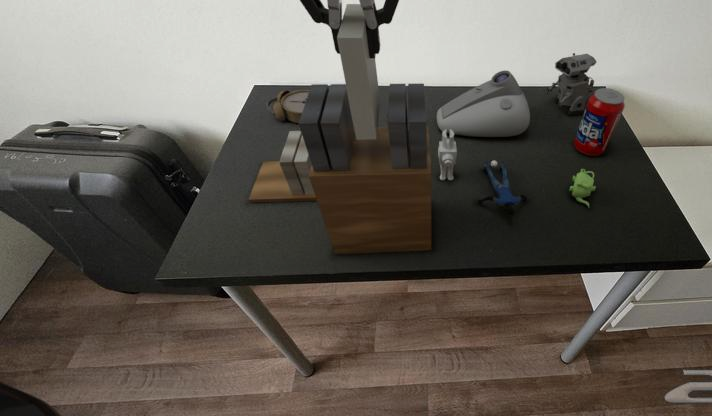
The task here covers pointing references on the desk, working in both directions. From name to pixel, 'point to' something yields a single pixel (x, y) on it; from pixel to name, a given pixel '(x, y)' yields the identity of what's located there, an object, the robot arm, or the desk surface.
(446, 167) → the toy robot
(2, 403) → the robot arm
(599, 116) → the soda can
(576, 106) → the figurine
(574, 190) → the green kettle
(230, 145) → the desk surface
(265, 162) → the wooden display stand
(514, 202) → the person figurine
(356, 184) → the wooden knife block
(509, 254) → the desk surface
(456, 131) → the projector
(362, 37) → the gray rectangular block
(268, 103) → the alarm clock
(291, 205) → the desk surface
